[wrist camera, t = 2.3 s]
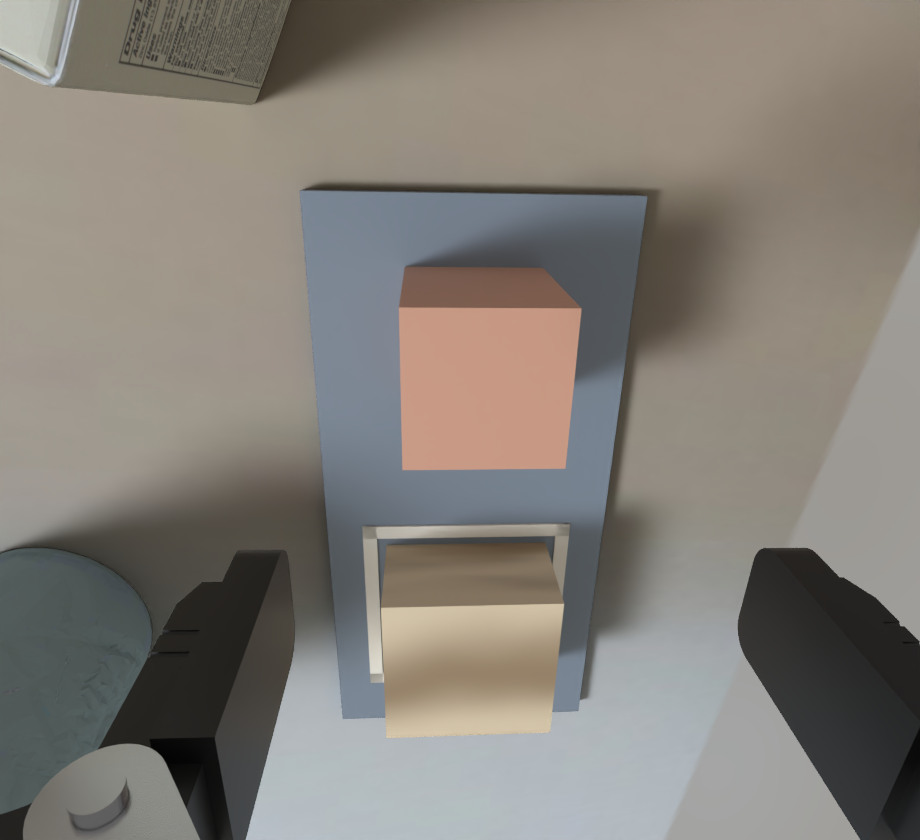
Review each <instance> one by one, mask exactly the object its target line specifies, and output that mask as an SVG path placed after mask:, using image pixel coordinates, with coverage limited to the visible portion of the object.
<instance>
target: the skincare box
mask: <svg viewBox="0 0 920 840" xmlns="http://www.w3.org/2000/svg"><path fill="white" fill-rule="evenodd" d="M290 2H291V0H0V64H1V65H3V66H5V67H7V68H9V69H11V70H13V71H15V72H17V73H19V74H21V75H23V76H25V77H27V78H29V79H31V80H33V81H35V82H37V83H39V84H41V85H43V86H47V87H60V88H72V89H83V90H92V91H105V92H114V93H124V94H136V95H147V96H161V97H169V98H179V99H189V100H202V101H212V102H222V103H234V104H244V105H252V104H254V103H255V102H256V100H257V98H258V95H259V92H260V89H261V87H262V84H263V81H264V79H265V76H266V73H267V71H268V68H269V65H270V62H271V59H272V56H273V53H274V50H275V48H276V45H277V42H278V39H279V36H280V33H281V30H282V27H283V24H284V21H285V18H286V15H287V12H288V9H289V5H290Z"/></svg>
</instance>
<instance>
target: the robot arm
mask: <svg viewBox="0 0 920 840" xmlns="http://www.w3.org/2000/svg"><path fill="white" fill-rule="evenodd" d="M738 636H739V641H740V645H741V648H742V651H743V653H744V655H745V657H746V659H747V660H748V662H749V663H750V665H751V666H752V668H753V670H754V671H755V673H756V675H757V676H758V678H759V679H760V681H761V682H762V684H763V686H764V687H765V689H766V690H767V692H768V693H769V695H770V697H771V698H772V700H773V702H774V703H775V705H776V706H777V708H778V709H779V711H780V713H781V714H782V715H783V717H784V719H785V721H786V722H787V724H788V725H789V727H790V729H791V730H792V732H793V733H794V735H795V736H796V738H797V740H798V741H799V743H800V744H801V746H802V748H803V749H804V751H805V752H806V754H807V756H808V757H809V759H810V760H811V762H812V763H813V765H814V767H815V768H816V770H817V771H818V773H819V774H820V776H821V777H822V779H823V781H824V783H825V784H826V786H827V787H828V789H829V790H830V792H831V793H832V795H833V797H834V798H835V800H836V801H837V803H838V805H839V806H840V808H841V809H842V811H843V813H844V814H845V816H846V817H847V819H848V821H849V822H850V824H851V825H852V827H853V829H854V830H855V832H856V833H857V835H858V836H859V838H860V840H920V644H919V641H918V640H917V639H916V638H915V637H914V636H913V635H912V634H911V633H910V632H909V631H908V630H907V629H906V628H905V627H902V626H900V624H899V621H898V620H897V619H896V618H895V617H894V616H893V615H892V614H891V613H890V612H889V611H888V610H887V609H886V608H885V607H884V606H883V605H882V604H881V603H880V602H879V601H878V600H877V599H876V598H875V597H873V596H872V595H870V594H868V593H867V592H865V591H864V590H862V589H861V588H859V587H858V586H856V585H854V584H853V583H851V582H850V581H848V580H846V579H845V578H839V577H838V576H837V574H836V573H835V572H834V571H833V570H832V569H831V568H830V567H829V566H828V565H827V564H826V563H825V562H824V561H823V560H822V559H821V558H820V557H819V556H818V555H817V554H816V553H815V552H814V551H813V550H811V549H808V548H763V549H761V550H759V551H758V553H757V554H756V556H755V558H754V562H753V565H752V569H751V573H750V577H749V580H748V584H747V588H746V592H745V596H744V599H743V603H742V607H741V611H740V615H739V619H738ZM294 640H295V623H294V612H293V602H292V592H291V582H290V572H289V562H288V556H287V553H286V551H285V550H239V551H238V552H237V553H236V554H235V556H234V558H233V560H232V562H231V565H230V567H229V569H228V571H227V573H226V575H225V577H224V579H223V582H202V583H201V584H200V585H199V586H197V587H196V588H195V589H194V590H193V591H192V592H191V593H189V594H188V595H187V596H186V597H185V598H184V599H182V600H181V601H180V602H179V603H178V604H177V605H176V607H175V609H174V611H173V613H172V614H171V616H170V618H169V620H168V622H167V624H166V625H165V627H164V629H163V635H160V636H159V638H158V640H157V642H156V644H155V646H154V647H153V649H152V651H151V657H150V658H147V660H146V662H145V664H144V666H143V668H142V669H141V671H140V673H139V675H138V677H137V679H136V680H135V682H134V684H133V686H132V688H131V690H130V691H129V693H128V695H127V697H126V699H125V701H124V703H123V704H122V706H121V708H120V710H119V712H118V714H117V715H116V717H115V719H114V721H113V723H112V725H111V726H110V728H109V730H108V732H107V734H106V736H105V737H104V739H103V741H102V743H101V745H100V746H99V748H98V749H97V750H96V751H93V752H91V753H89V754H86V755H84V756H82V757H81V758H79V759H77V760H75V761H74V762H72V763H71V764H69V765H68V766H66V767H65V768H64V769H62V770H61V771H60V772H59V773H57V774H56V775H55V776H54V777H53V778H52V779H51V780H50V781H49V782H48V783H47V784H46V785H45V786H44V787H43V788H42V790H41V791H40V792H39V794H38V795H37V796H36V798H35V799H34V801H33V803H30V804H28V805H26V806H24V807H21V808H18V809H15V810H12V811H10V812H6V813H3V814H0V840H245V839H246V836H247V832H248V828H249V824H250V820H251V816H252V813H253V809H254V805H255V801H256V797H257V793H258V789H259V786H260V782H261V778H262V774H263V770H264V766H265V763H266V759H267V755H268V751H269V747H270V743H271V740H272V736H273V732H274V728H275V724H276V720H277V716H278V713H279V709H280V705H281V701H282V697H283V693H284V690H285V686H286V682H287V678H288V674H289V670H290V666H291V662H292V657H293V651H294Z"/></svg>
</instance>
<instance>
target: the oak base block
mask: <svg viewBox="0 0 920 840" xmlns="http://www.w3.org/2000/svg"><path fill="white" fill-rule="evenodd" d="M563 610H564V602H563V598H562V595H561V592H560V588H559V585H558V582H557V579H556V575H555V572H554V569H553V566H552V562H551V559H550V556H549V552H548V549H547V546H546V543H545V542H538V543H478V544H418V545H387V546H386V557H385V568H384V579H383V590H382V602H381V621H382V645H383V669H384V692H385V716H386V738H401V737H430V736H459V735H488V734H517V733H547V732H550V727H551V718H552V709H553V700H554V691H555V682H556V673H557V664H558V655H559V646H560V637H561V628H562V619H563Z"/></svg>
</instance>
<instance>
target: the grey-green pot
mask: <svg viewBox="0 0 920 840" xmlns="http://www.w3.org/2000/svg"><path fill="white" fill-rule="evenodd" d="M151 639H152V627H151V621H150V616H149V613H148V611H147V608H146V606H145V604H144V603H143V601H142V599H141V598H140V597H139V595H138V594H137V593H136V591H135V590H134V589H133V588H132V587H131V586H130V585H129V584H128V583H127V582H126V581H125V580H124V579H123V578H122V577H120V576H119V575H118V574H116V573H115V572H113V571H112V570H110V569H109V568H107V567H105V566H103V565H102V564H100V563H98V562H96V561H94V560H92V559H90V558H87V557H84V556H81V555H77V554H74V553H71V552H67V551H62V550H57V549H50V548H22V549H15V550H11V551H7V552H4V553H1V554H0V814H3V813H6V812H10V811H12V810H15V809H18V808H21V807H24V806H26V805H28V804H30V803H33V801H34V799H35V798H36V796H37V795H38V794H39V792H40V791H41V790H42V788H43V787H44V786H45V785H46V784H47V783H48V782H49V781H50V780H51V779H52V778H53V777H54V776H55V775H56V774H57V773H59V772H60V771H61V770H62V769H64V768H65V767H66V766H68V765H69V764H71V763H72V762H74V761H75V760H77V759H79V758H81V757H82V756H84V755H86V754H89V753H91V752H93V751H96V750H97V749H98V748H99V746H100V745H101V743H102V741H103V739H104V737H105V736H106V734H107V732H108V730H109V728H110V726H111V725H112V723H113V721H114V719H115V717H116V715H117V714H118V712H119V710H120V708H121V706H122V704H123V703H124V701H125V699H126V697H127V695H128V693H129V691H130V690H131V688H132V686H133V684H134V682H135V680H136V679H137V677H138V675H139V673H140V671H141V669H142V668H143V666H144V664H145V661H146V659H147V656H148V654H149V651H150V647H151Z"/></svg>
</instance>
